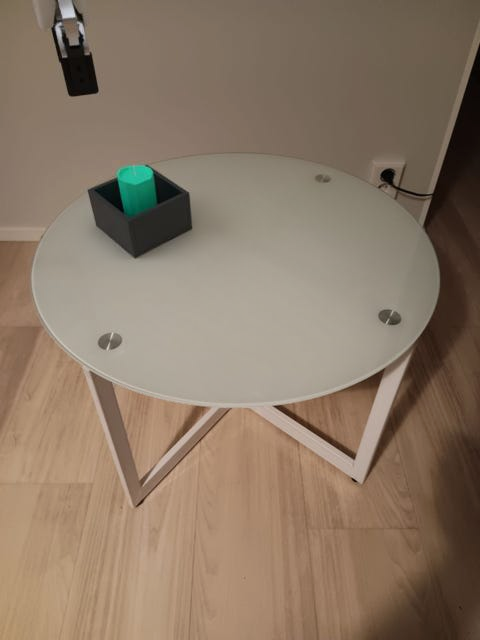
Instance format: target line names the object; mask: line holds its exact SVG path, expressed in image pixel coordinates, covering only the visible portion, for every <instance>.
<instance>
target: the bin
mask: <svg viewBox="0 0 480 640" xmlns="http://www.w3.org/2000/svg"><path fill="white" fill-rule="evenodd" d="M144 166H147V167H149V168H151V170H152V171H153V175H154V183H155V190H156V197H157V205H156V206H154V207H151V208H149V209H147V210H145V211H143V212H141V213H139V214H136V215H134V216H132V217H130V218H129V217H127V216H126V215H125V214H124V209H123V204H122V198H121V193H120V188H119V183H118V178H117V176H116V177H114V178H112V179H110V180H107V181H104V182H102V183H99V184H97V185H95V186H93V187H90V188H88V189H87V195H88V198H89V203H90V206H91V210H92V211H91V212H92V214H93V218H94V222H95V223H94V224H95V226H96V227H97V228H98V229H99V230H101V231H102V232H103V233H104V234H105V235H107V237H109V238H110V239H111V240H112V241H114V242H115V243H116V244H117V245H118V246H119V247H120V248H121V249H123V250H124V251H125V252H127V254H129V255H130V256H131V257H133V259H136V258H138V257H140V256H143V255H144V254H147V253H148V252H149V251H151V250H154V249H156V248H158V247H160V246H161V245H163V244H165V243H168V242H170V241H171V240H173V239H176V238H177V237H180V236H181V235H183V234H185V233H186V232H189V231H190V230H192V229H193V221H192V208H191V196H190V192H189V191H187V190H186V189H184V188H183V187H182V186H180V185H178V184H177V183H176V182H174V181H173V180H172V179H170V178H168V177H166V176H165V175H164V174H162V173H161V172H160V171H157V170H156V169H155V168H153V167H151V166H150V165H149V164H145V165H144Z"/></svg>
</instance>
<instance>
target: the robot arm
mask: <svg viewBox="0 0 480 640" xmlns="http://www.w3.org/2000/svg"><path fill="white" fill-rule="evenodd" d="M31 2H32V6H33V9H34V12H35V16H36V20H37V24H38V27H39V29H40V30H42V31H43V32H46V33H47V32H48V29H50V30H51V34H52V38H53V43H54V46H55V51H56V55H57V59H58V62H59V63H60V66H61V70H62V74H63V78H64V82H65V87H66V92H67V95H68V96H69V97H71V98H74V97H81V96H89V95H96V94H98V93H99V91H100V88H99V84H98V79H97V74H96V68H95V62H94V58H93V53H92V51H90V48H89V44H88V39H87V35H86V30H85V28H86V27H87V26H88V25H89V23H90V19H89V11H88V10H89V9H88V3H87V0H31Z"/></svg>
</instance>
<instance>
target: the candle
mask: <svg viewBox="0 0 480 640" xmlns="http://www.w3.org/2000/svg"><path fill="white" fill-rule="evenodd" d="M151 168H152V167H151ZM151 168H149V167H147V166H145V165H141V164H139V165H135V164H133V165H127V166H124V167H121V168H119V169H118V171H117V173H116V177H117V178H118V183H119V188H120V193H121V198H122V204H123V209H124V214H125V215H126V216H127V217H129V218H130V217H132V216H134V215H136V214H139V213H141V212H143V211H145V210H147V209H149V208H151V207H154V206H156V205H157V197H156V190H155V183H154V175H153V171H152V170H151Z"/></svg>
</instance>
